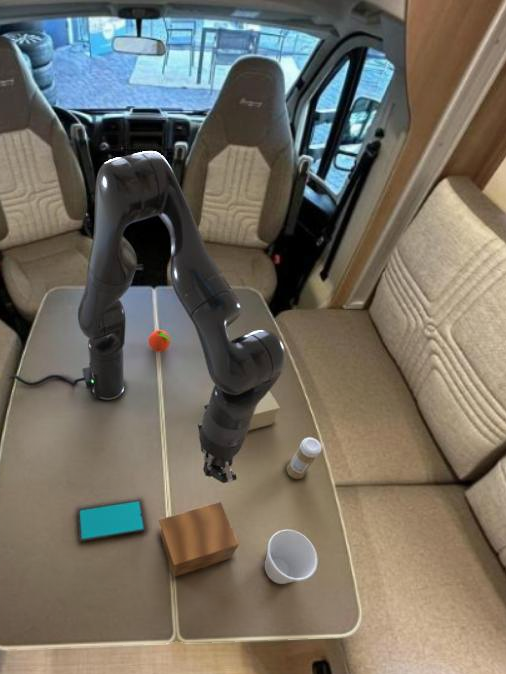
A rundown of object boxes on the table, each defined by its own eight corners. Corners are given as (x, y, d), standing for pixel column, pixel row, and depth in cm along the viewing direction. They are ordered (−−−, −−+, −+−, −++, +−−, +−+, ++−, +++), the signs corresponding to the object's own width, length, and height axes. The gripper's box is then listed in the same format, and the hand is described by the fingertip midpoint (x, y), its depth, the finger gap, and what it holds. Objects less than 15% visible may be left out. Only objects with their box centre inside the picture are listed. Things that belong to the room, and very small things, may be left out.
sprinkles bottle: (307, 473, 107) (326, 447, 97) (295, 482, 106) (313, 457, 95) (294, 460, 110) (311, 433, 99) (282, 468, 108) (298, 442, 98)
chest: (174, 577, 90) (177, 565, 84) (160, 534, 96) (162, 520, 90) (230, 558, 93) (238, 545, 87) (213, 517, 99) (219, 503, 92)
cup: (250, 547, 95) (262, 531, 86) (292, 544, 96) (308, 527, 87) (262, 595, 88) (276, 582, 80) (307, 591, 89) (325, 578, 81)
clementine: (176, 347, 135) (178, 331, 130) (165, 360, 131) (166, 345, 126) (155, 337, 138) (156, 322, 132) (144, 350, 134) (144, 334, 128)
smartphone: (77, 509, 98) (139, 500, 100) (78, 511, 99) (139, 501, 101) (79, 541, 94) (144, 530, 96) (80, 542, 94) (144, 531, 96)
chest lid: (173, 566, 83) (174, 565, 83) (158, 520, 89) (159, 519, 88) (238, 545, 86) (239, 544, 86) (219, 503, 92) (220, 501, 92)
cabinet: (231, 435, 114) (237, 418, 108) (216, 404, 121) (220, 387, 114) (272, 424, 117) (280, 407, 111) (255, 395, 123) (261, 378, 117)
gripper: (190, 399, 72) (180, 448, 86) (219, 466, 64) (204, 508, 78) (229, 390, 74) (213, 439, 87) (263, 454, 66) (240, 498, 79)
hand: (209, 472), depth 82 cm, fingers closed
